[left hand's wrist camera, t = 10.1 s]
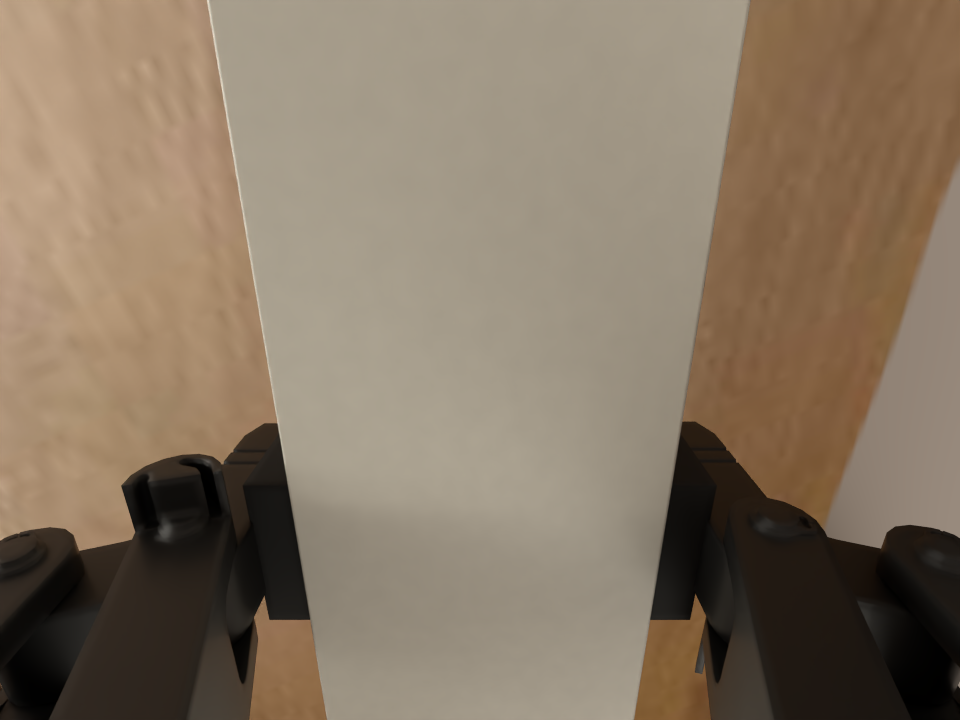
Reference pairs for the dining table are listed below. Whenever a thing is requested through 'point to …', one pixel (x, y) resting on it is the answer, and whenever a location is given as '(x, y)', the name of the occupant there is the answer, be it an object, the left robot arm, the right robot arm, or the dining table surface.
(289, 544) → the left robot arm
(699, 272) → the bar
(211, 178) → the dining table surface
